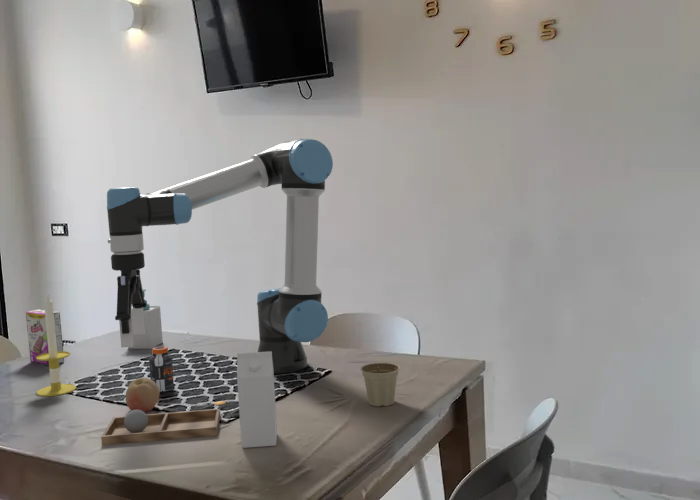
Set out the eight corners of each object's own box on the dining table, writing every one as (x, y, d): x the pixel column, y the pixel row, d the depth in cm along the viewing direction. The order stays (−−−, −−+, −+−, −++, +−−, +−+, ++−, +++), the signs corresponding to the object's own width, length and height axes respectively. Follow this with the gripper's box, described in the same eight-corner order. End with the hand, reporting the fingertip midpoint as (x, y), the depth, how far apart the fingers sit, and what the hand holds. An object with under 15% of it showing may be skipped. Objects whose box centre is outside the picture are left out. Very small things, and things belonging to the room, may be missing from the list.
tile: (232, 399, 176) (232, 397, 176) (230, 408, 169) (230, 406, 169) (191, 403, 175) (191, 401, 175) (188, 412, 168) (188, 410, 168)
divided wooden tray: (220, 418, 162) (219, 408, 162) (217, 437, 150) (216, 427, 150) (114, 427, 160) (113, 417, 159) (102, 447, 148) (101, 436, 147)
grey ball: (150, 427, 157) (148, 405, 156) (146, 435, 152) (144, 412, 151) (127, 429, 156) (125, 407, 156) (122, 437, 151) (121, 414, 151)
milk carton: (243, 436, 151) (238, 349, 149) (277, 433, 151) (272, 347, 149) (241, 448, 144) (235, 358, 142) (276, 446, 144) (271, 355, 142)
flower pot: (405, 397, 172) (404, 363, 171) (395, 410, 163) (394, 374, 162) (368, 395, 175) (367, 361, 174) (356, 407, 166) (355, 372, 165)
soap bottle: (127, 349, 235) (123, 292, 233) (139, 342, 244) (135, 288, 242) (151, 349, 234) (147, 292, 232) (163, 342, 242) (159, 288, 240)
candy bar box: (29, 362, 223) (24, 311, 221) (43, 358, 227) (38, 308, 225) (51, 366, 217) (46, 314, 215) (65, 362, 221) (60, 311, 219)
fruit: (119, 415, 168) (116, 383, 167) (141, 405, 175) (138, 373, 174) (146, 418, 165) (144, 385, 164) (167, 407, 172) (165, 375, 171)
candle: (84, 387, 193) (75, 290, 190) (55, 398, 184) (45, 296, 181) (57, 383, 197) (49, 289, 194) (27, 394, 188) (18, 295, 185)
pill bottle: (167, 392, 184) (164, 350, 183) (147, 392, 186) (143, 350, 184) (177, 385, 190) (174, 344, 189) (157, 385, 191) (154, 344, 190)
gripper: (122, 248, 179) (128, 330, 181) (97, 259, 154) (104, 353, 156) (152, 246, 180) (158, 328, 182) (132, 257, 155) (139, 351, 157)
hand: (133, 340), depth 169 cm, fingers open, 13 cm apart
